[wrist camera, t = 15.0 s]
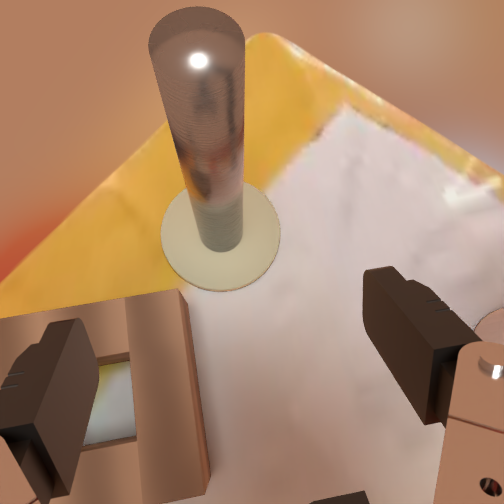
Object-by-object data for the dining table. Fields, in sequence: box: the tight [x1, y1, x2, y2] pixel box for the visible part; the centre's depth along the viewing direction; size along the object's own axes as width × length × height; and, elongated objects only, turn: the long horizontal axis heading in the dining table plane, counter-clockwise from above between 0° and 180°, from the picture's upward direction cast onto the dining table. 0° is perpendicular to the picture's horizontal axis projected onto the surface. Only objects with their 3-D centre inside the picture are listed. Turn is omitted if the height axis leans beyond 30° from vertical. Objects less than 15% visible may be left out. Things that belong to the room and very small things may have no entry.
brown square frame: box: [0, 289, 211, 504], centre depth 31 cm, size 14×14×6 cm
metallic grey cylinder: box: [148, 7, 245, 252], centre depth 28 cm, size 4×4×22 cm
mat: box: [161, 182, 280, 292], centre depth 39 cm, size 11×11×1 cm
